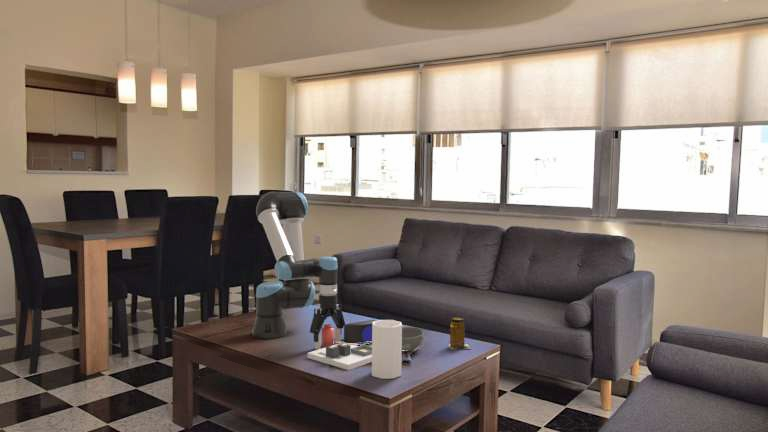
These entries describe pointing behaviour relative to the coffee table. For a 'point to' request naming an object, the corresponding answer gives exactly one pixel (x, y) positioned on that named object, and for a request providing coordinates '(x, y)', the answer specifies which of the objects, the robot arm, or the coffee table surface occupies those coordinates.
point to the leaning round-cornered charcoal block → (358, 332)
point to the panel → (345, 357)
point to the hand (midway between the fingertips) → (327, 346)
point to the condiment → (457, 334)
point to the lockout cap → (327, 335)
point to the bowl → (411, 338)
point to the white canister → (386, 349)
